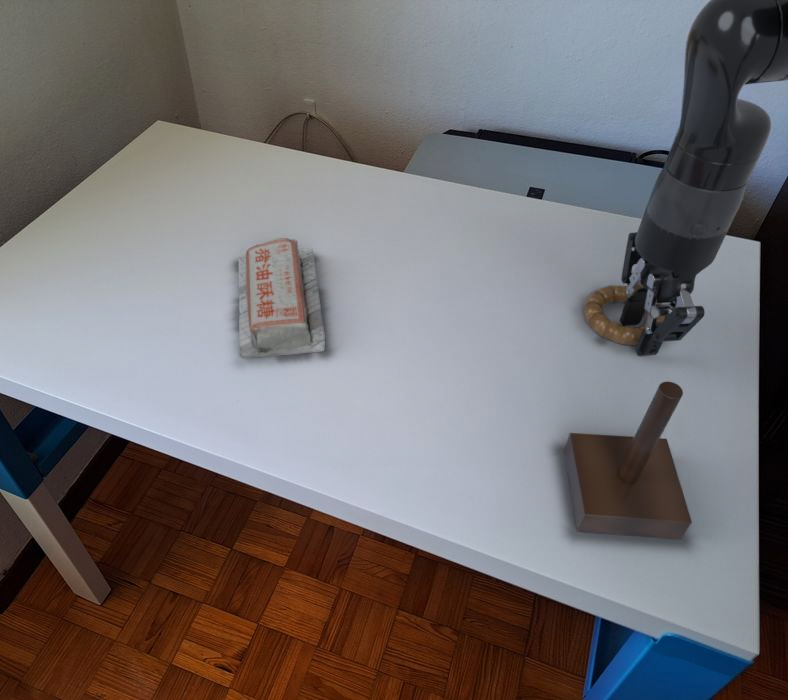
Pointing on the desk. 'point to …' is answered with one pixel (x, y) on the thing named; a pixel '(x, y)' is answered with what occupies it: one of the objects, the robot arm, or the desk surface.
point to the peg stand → (629, 477)
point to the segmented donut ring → (606, 325)
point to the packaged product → (279, 301)
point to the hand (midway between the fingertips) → (636, 337)
